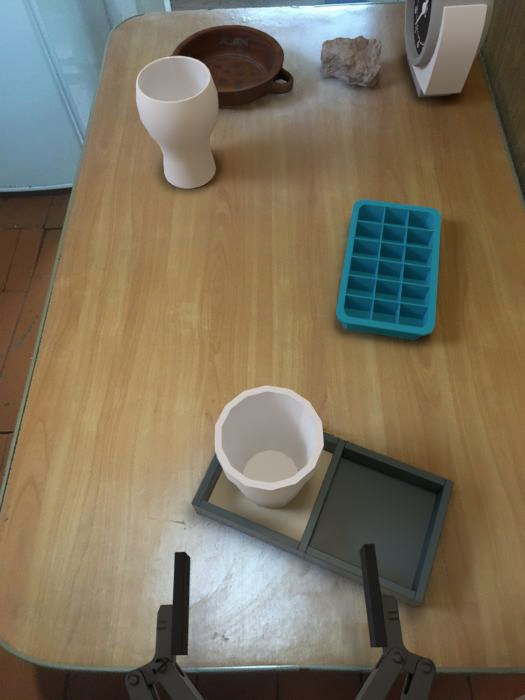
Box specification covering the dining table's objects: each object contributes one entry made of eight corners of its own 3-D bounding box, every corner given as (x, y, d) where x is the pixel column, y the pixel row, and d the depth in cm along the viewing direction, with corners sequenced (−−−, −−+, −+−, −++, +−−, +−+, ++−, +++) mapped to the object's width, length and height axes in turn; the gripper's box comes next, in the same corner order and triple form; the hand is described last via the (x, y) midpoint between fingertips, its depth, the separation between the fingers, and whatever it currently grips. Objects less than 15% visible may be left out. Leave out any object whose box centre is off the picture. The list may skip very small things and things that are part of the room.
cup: (147, 193, 81) (121, 102, 68) (163, 143, 86) (142, 50, 73) (218, 199, 80) (206, 108, 67) (230, 148, 85) (222, 55, 72)
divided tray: (444, 491, 58) (454, 481, 55) (414, 607, 53) (422, 604, 50) (242, 413, 63) (240, 400, 60) (195, 512, 58) (190, 503, 55)
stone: (379, 92, 90) (385, 58, 85) (319, 92, 91) (320, 58, 86) (378, 62, 94) (383, 28, 89) (320, 62, 95) (321, 28, 90)
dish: (185, 44, 98) (180, 16, 94) (305, 61, 95) (307, 32, 91) (150, 106, 90) (144, 78, 86) (281, 127, 87) (281, 99, 83)
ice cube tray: (435, 224, 76) (441, 208, 74) (428, 348, 67) (434, 336, 64) (352, 213, 78) (354, 197, 75) (332, 333, 68) (334, 320, 65)
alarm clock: (393, 45, 97) (419, -92, 79) (442, 42, 97) (478, -95, 79) (413, 112, 88) (447, -25, 70) (466, 109, 88) (513, -29, 70)
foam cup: (208, 487, 58) (191, 445, 47) (261, 421, 62) (257, 367, 50) (281, 543, 55) (282, 512, 44) (332, 470, 59) (345, 425, 47)
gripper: (87, 934, 34) (119, 565, 44) (496, 919, 33) (431, 552, 44) (40, 1000, 27) (91, 549, 38) (548, 983, 27) (457, 533, 37)
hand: (274, 550), depth 41 cm, fingers open, 13 cm apart
